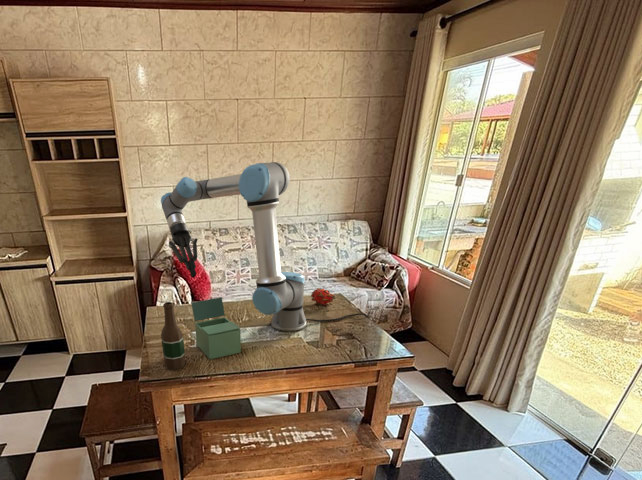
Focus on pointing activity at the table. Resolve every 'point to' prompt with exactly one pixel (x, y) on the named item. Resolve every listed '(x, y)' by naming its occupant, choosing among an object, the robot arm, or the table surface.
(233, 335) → the container
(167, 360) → the beer bottle
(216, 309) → the flap
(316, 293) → the dragon fruit
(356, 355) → the table surface
